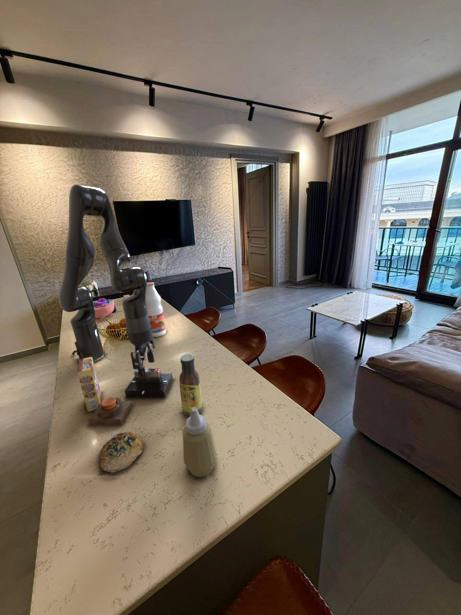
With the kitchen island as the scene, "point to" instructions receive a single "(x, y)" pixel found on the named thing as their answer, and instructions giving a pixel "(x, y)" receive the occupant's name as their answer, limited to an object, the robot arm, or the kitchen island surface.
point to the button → (109, 403)
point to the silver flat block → (149, 376)
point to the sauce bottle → (189, 385)
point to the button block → (111, 413)
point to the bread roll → (120, 452)
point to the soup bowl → (103, 307)
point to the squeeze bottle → (198, 445)
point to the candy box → (89, 383)
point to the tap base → (149, 388)
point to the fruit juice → (155, 311)
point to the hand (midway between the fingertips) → (147, 368)
